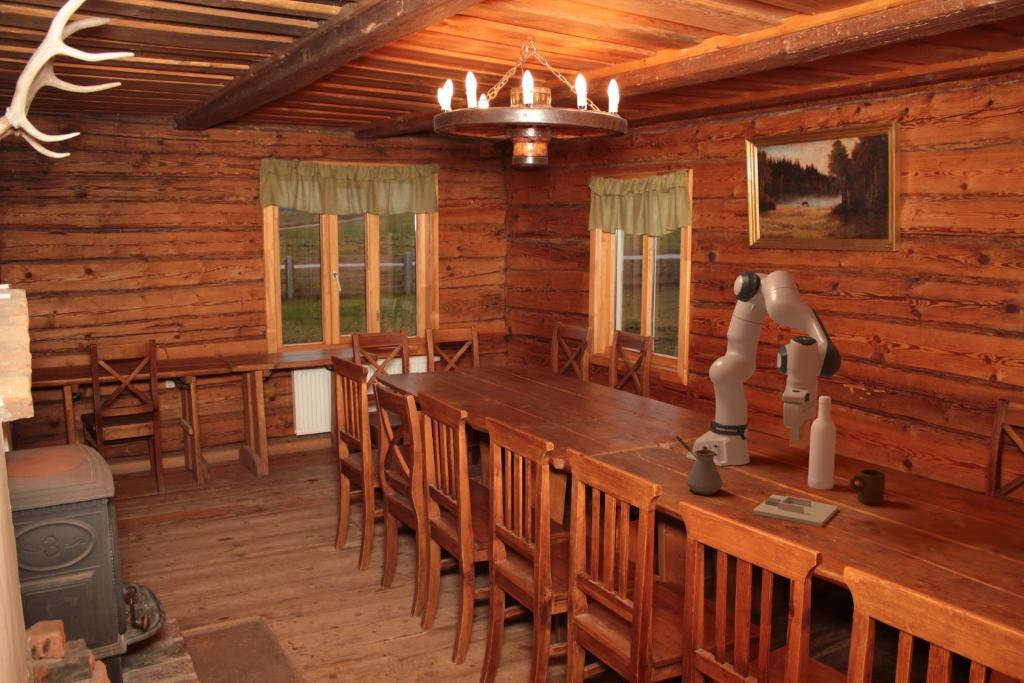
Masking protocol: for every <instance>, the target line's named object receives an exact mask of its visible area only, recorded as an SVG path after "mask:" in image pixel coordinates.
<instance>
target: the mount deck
mask: <svg viewBox="0 0 1024 683" xmlns="http://www.w3.org/2000/svg"><path fill="white" fill-rule="evenodd" d="M752 510H753V511H752V514H753V515H756V516H757V515H758V516H763V517H768V518H774V519H778V520H783V521H788V522H793V523H794V522H795V523H800V524H805V525H809V526H813V527H815V526H816V527H820V528H822V527H823V526H824V525H825V524H826V523H827V522H828V521H829V520H830V519H831V518H832V517H833V516H834V515H835V513H837V511H839V506H838V505H835V504H829V503H822V502H817V501H812V500H811V499H808V498H803V497H796V496H790V495H786V496H783V495H778V494H771V495H769V497H767V498H766V499H765V500H764V501H763V502H761V503H760V504H759V505H757V506H756V507H755V508H754V509H752Z"/></svg>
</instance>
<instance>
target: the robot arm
mask: <svg viewBox="0 0 1024 683" xmlns="http://www.w3.org/2000/svg"><path fill="white" fill-rule="evenodd" d="M800 290H801V289H800V286H799V284H798V282H797V281H795V279H794V278H793V276H792V274H790V272H787V271H785V270H775V271H772V272H770V273H769V274H768V273H760V272H754V271H742V272H741V273H740V274H738V275H737V276H736V279H735V281H734V285H733V295H734V296H735V299H736V300H737V302H736V304H735V307H734V310H733V312H732V316H731V319H730V322H729V326H728V329H727V333H726V338H727V345H726V346H727V348H726V352H725V354H724V355H723V356H721V357H718V358H717V359H716V360H715V361H713V363H712V364H711V365H710V368H709V372H708V375H709V379H710V381H711V382H712V384H713V389H714V396H715V418H714V419H713V420H712V421H711V422H709V423H708V428H709V429H710V430H708V431H707V432H705V433H704V434H702V435H701V436H699V437H698V438H697V439H695V441H694V444H693V447H692V449H691V450H692V451H693V452H694V453H695V452H696V451H697V450H710V451H714V452H715V453H716V454H715V455H714V458H713V460H714V462H715V465H716V466H718V467H726V466H727V467H728V466H741V465H746V464H749V463H750V461H751V459H750V456H749V450H748V441H747V440H748V436H749V423H748V399H747V398H746V395H745V390H744V382H746V381H747V380H749V379H750V378H751V377H752V376H753V374H754V373H755V372H756V368H757V363H756V361H757V360H756V359H757V351H758V345H759V341H760V337H761V333H762V330H763V327H764V323H765V321H766V317H767V314H768V316H769V318H770V319H771V320H772V321H773V322H775V323H776V324H778V325H781V326H783V327H789V328H793V329H797V330H800V331H802V332H805V333H806V334H808V336H807V335H796V336H793V337H791V338H790V341H789V343H788V344H783V345H782V346H780V348H778V349H777V351H776V365H775V366H776V369H777V370H778V371H779V372H780V373H782V375H786V376H787V378H786V386H785V390H784V391H783V393H782V396H781V397H782V398H781V400H782V401H783V402H784V403H783V408H782V409H783V414H782V415H783V425H784V427H785V428H786V429H790V428H792V432H793V439H794V440H799V439H800V426H801V425H803V424H804V422H805V421H807V420H808V419H810V420H812V419H813V418H815V417H816V413H817V399H818V391H819V390H818V388H819V380H818V378H819V377H820V378H831V377H833V376H834V375H835V374H836V373H838V372H839V371H840V369H841V367H842V366H841V365H842V364H841V363H842V358H841V353H840V351H839V349H838V348H837V347H836V345H835V344H834V343H833V341H832V339H831V338H830V336H829V334H828V331H827V329H826V327H825V326H824V323H823V322H822V320H821V318H820V316H819V315H818V313H817V311H816V310H815V309H814V308H812V307H810V306H809V305H808V304H806V303H805V301H804V300H803V299H802V297H801V295H800V294H801V293H800V292H801V291H800ZM686 458H687V459H689V460H693V461H696V458H695V457H694V456H693V455H692V454H691V452H689V451H688V452H687V453H686Z"/></svg>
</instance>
